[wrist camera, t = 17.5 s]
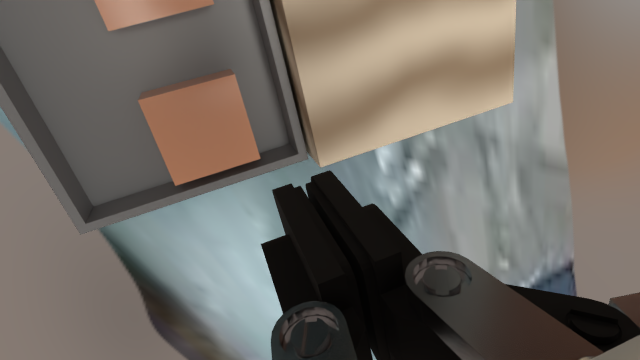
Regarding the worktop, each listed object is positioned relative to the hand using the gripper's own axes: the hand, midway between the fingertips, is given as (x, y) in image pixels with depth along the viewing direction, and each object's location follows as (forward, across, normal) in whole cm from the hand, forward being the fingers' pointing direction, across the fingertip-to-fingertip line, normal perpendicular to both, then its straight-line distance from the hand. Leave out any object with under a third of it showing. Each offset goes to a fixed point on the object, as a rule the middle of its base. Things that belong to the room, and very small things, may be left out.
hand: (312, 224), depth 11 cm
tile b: (+16, +3, +2) cm, 17 cm away
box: (+19, +4, -4) cm, 20 cm away
